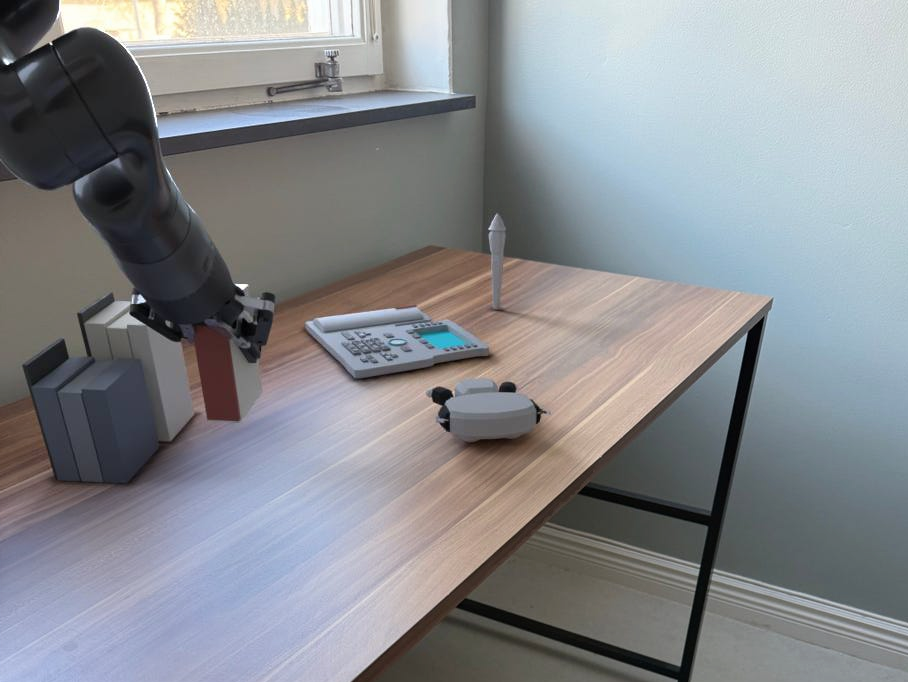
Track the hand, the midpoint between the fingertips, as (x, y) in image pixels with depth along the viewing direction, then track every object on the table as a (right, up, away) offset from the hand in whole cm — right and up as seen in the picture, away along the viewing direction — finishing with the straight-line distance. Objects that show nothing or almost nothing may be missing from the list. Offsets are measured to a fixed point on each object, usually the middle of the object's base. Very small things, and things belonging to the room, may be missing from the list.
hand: (235, 353), depth 92 cm
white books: (-13, -4, +14) cm, 20 cm away
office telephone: (+13, +13, +39) cm, 43 cm away
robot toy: (+25, -4, +15) cm, 30 cm away
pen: (+27, +23, +52) cm, 63 cm away
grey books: (-15, -10, +6) cm, 19 cm away
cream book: (0, -5, +1) cm, 5 cm away
